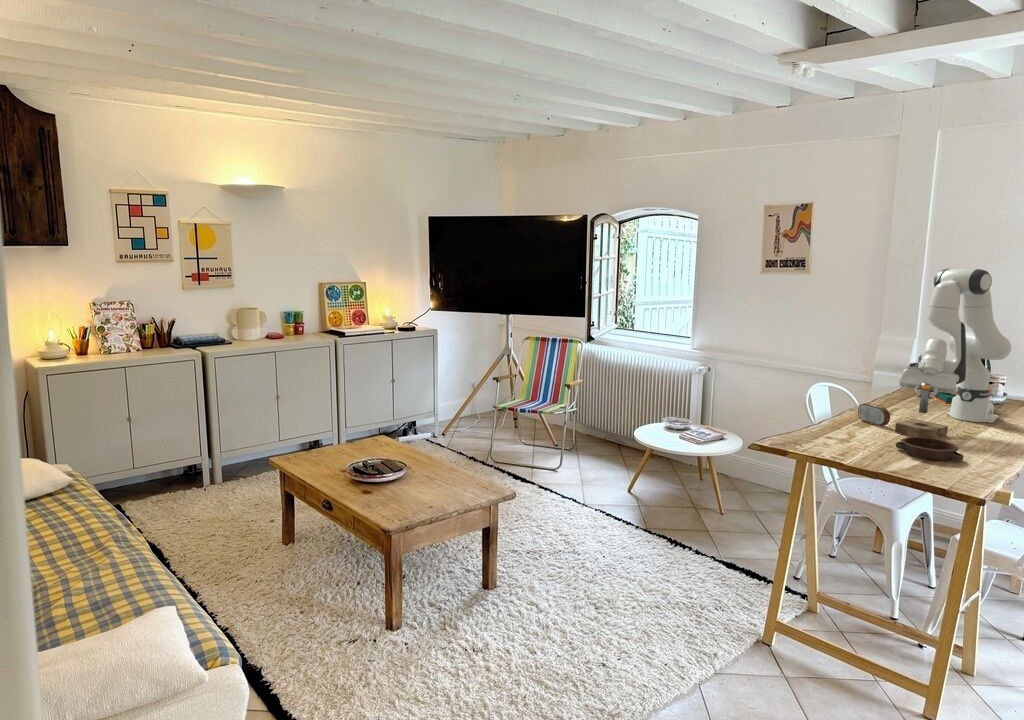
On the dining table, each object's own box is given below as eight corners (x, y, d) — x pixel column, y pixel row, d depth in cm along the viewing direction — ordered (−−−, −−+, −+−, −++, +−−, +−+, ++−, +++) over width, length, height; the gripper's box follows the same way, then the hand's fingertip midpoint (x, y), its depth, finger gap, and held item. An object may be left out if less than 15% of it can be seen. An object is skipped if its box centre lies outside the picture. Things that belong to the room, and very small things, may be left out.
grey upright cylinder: (920, 411, 286) (924, 382, 284) (928, 412, 283) (932, 383, 281) (916, 412, 284) (920, 383, 282) (925, 413, 281) (928, 384, 279)
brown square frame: (911, 427, 295) (912, 418, 294) (946, 435, 284) (947, 426, 283) (894, 432, 287) (895, 423, 286) (930, 440, 276) (931, 431, 275)
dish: (901, 445, 270) (902, 432, 269) (967, 457, 255) (969, 444, 254) (888, 454, 257) (890, 441, 256) (958, 468, 242) (960, 454, 241)
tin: (889, 427, 295) (891, 408, 294) (884, 428, 294) (886, 408, 293) (861, 419, 309) (863, 400, 308) (855, 419, 308) (857, 401, 306)
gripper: (959, 378, 284) (954, 405, 278) (903, 372, 296) (897, 398, 290) (960, 369, 280) (954, 396, 274) (902, 363, 292) (896, 389, 286)
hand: (924, 397), depth 282 cm, fingers closed on grey upright cylinder, 3 cm apart
